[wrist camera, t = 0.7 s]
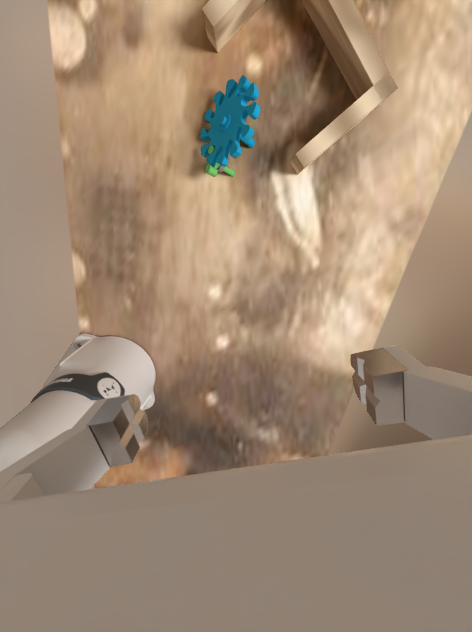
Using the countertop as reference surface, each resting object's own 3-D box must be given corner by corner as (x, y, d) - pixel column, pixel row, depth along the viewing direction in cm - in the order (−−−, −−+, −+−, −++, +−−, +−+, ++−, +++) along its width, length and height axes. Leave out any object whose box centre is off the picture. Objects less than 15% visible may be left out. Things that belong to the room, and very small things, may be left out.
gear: (219, 66, 32) (267, 78, 27) (249, 97, 37) (297, 112, 31) (184, 157, 37) (219, 182, 32) (214, 174, 41) (250, 199, 36)
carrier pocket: (297, 174, 37) (304, 167, 33) (207, 37, 33) (201, 8, 28) (378, 105, 34) (397, 88, 30) (292, -57, 30) (300, -104, 25)
